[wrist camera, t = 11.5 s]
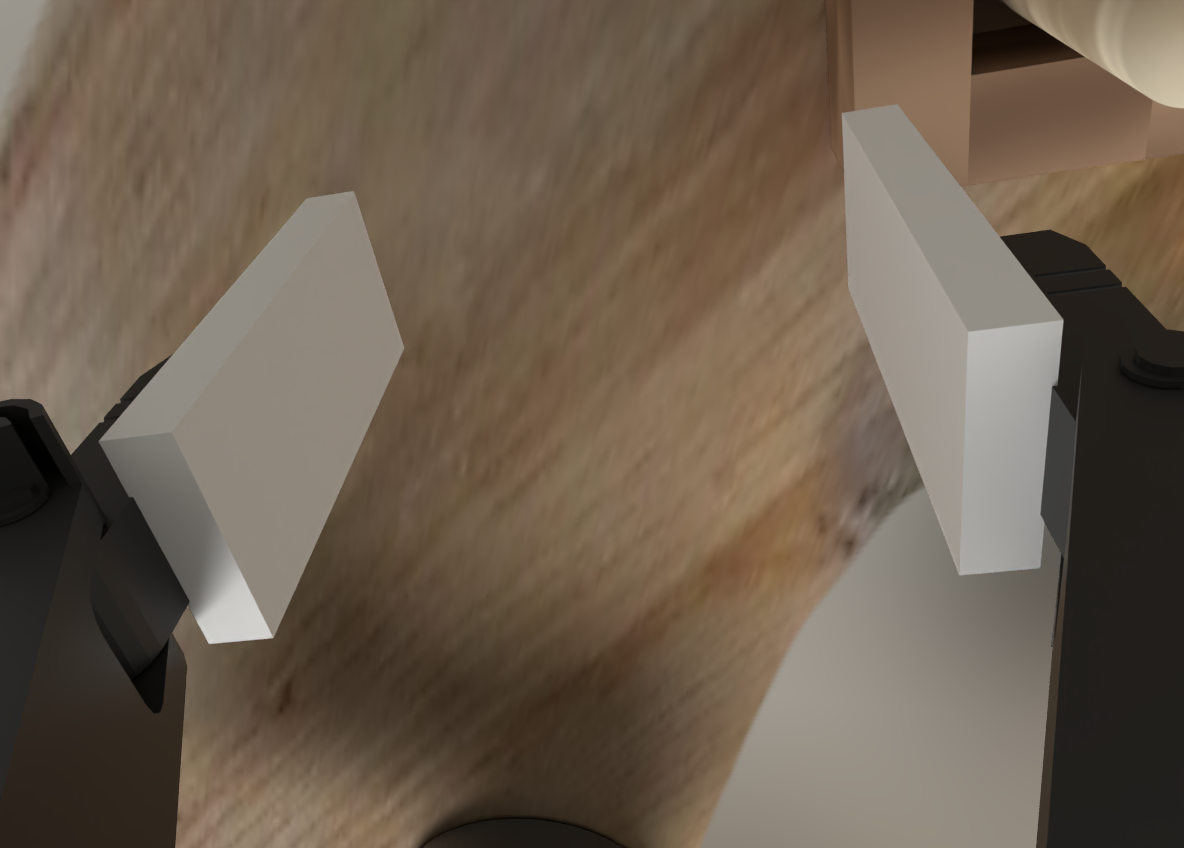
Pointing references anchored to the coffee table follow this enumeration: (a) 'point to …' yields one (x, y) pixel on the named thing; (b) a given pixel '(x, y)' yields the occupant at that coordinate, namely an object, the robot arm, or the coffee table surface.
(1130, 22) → the dowel
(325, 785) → the coffee table surface
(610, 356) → the coffee table surface
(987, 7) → the block
